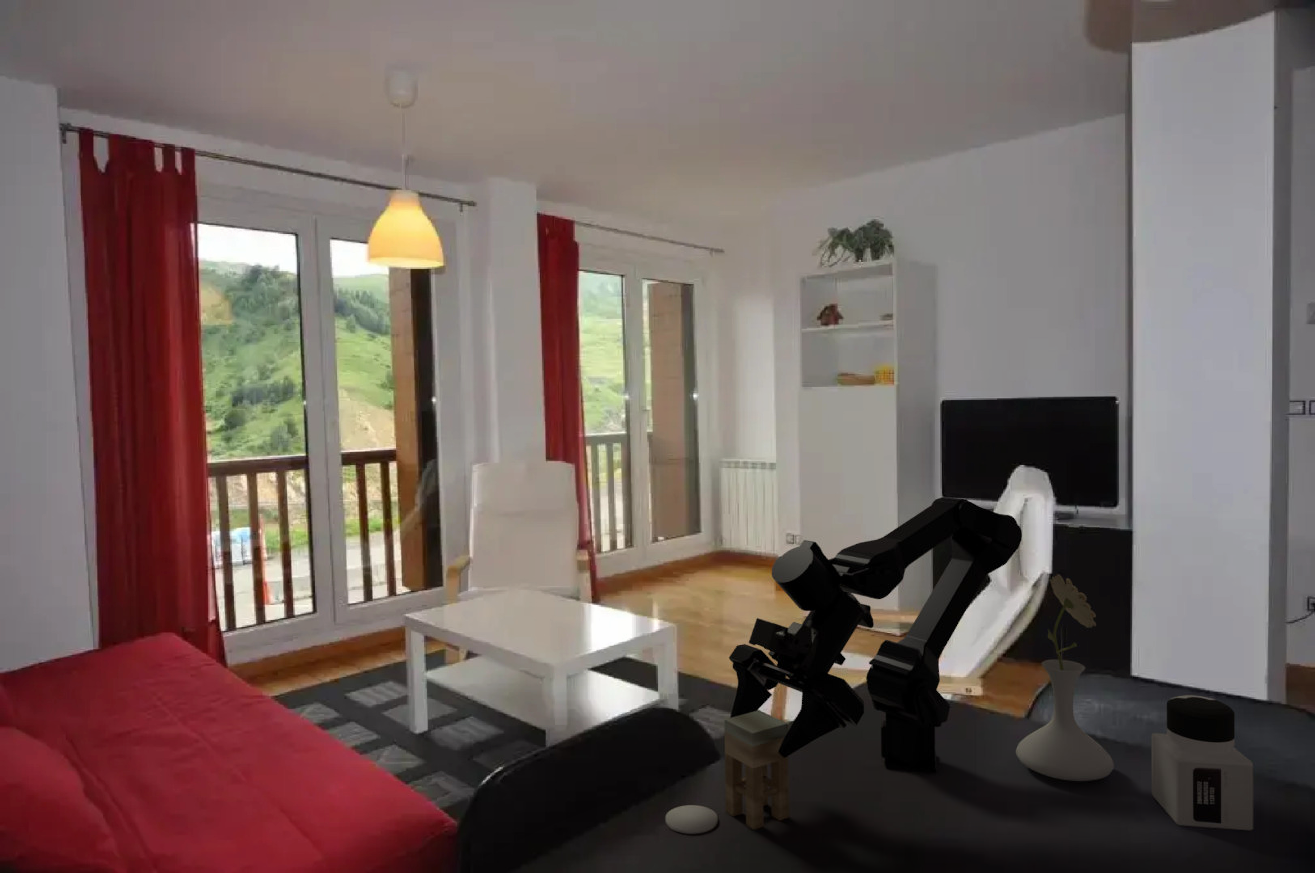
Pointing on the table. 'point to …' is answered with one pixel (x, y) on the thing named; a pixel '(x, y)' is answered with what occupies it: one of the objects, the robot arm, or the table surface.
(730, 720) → the stool
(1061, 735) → the flower in vase
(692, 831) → the mat
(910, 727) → the robot arm
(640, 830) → the table surface
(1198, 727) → the container
